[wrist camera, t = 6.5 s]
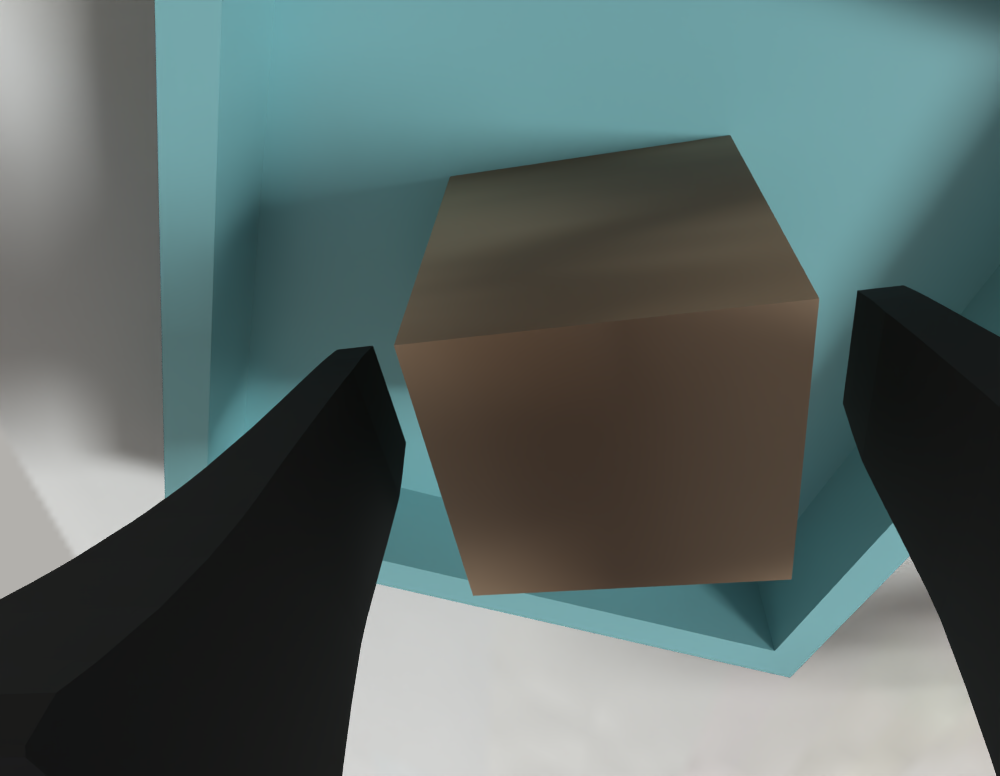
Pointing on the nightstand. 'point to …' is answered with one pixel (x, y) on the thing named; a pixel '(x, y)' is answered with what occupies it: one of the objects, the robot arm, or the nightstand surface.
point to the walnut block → (613, 371)
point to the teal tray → (551, 137)
